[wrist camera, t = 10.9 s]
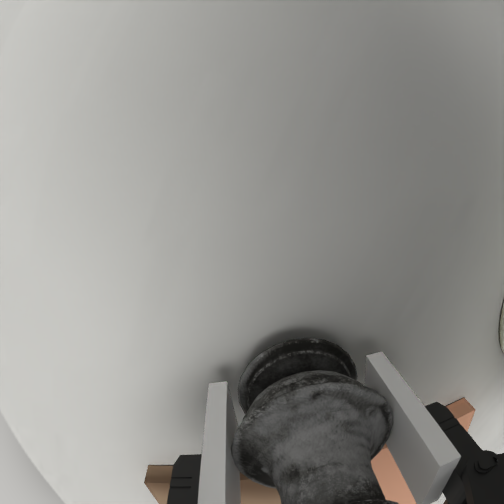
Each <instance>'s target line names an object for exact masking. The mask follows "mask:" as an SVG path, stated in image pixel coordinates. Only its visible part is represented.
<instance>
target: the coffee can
mask: <svg viewBox="0 0 504 504" xmlns="http://www.w3.org/2000/svg"><path fill="white" fill-rule="evenodd" d="M499 331H500V344H501V348H502V351H503V353H504V303H503V308H502V313H501V319H500V328H499Z"/></svg>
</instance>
